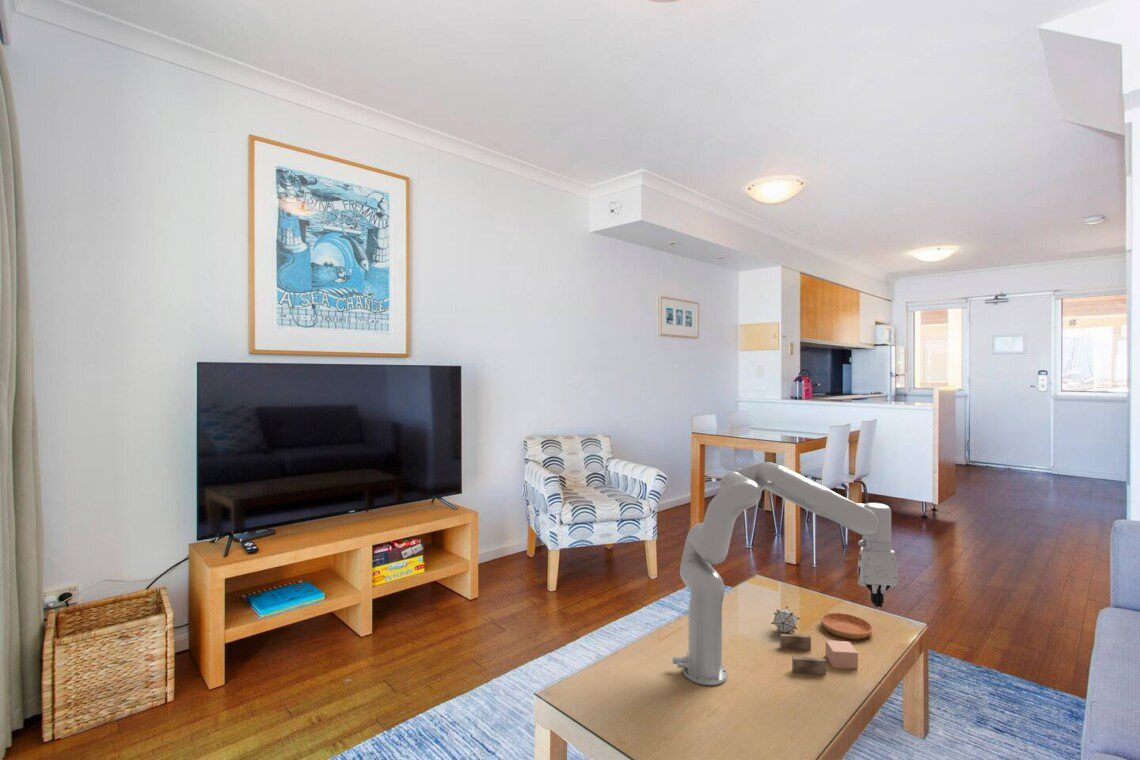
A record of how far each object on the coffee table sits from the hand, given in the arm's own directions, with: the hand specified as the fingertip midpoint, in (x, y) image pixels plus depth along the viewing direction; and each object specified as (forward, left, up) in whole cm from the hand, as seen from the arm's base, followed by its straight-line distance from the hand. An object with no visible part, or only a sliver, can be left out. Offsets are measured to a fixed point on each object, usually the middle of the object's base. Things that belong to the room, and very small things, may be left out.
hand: (877, 605), depth 169 cm
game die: (-22, +18, -18) cm, 34 cm away
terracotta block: (-10, 0, -18) cm, 21 cm away
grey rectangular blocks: (-22, 0, -18) cm, 28 cm away
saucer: (-1, +22, -18) cm, 29 cm away
